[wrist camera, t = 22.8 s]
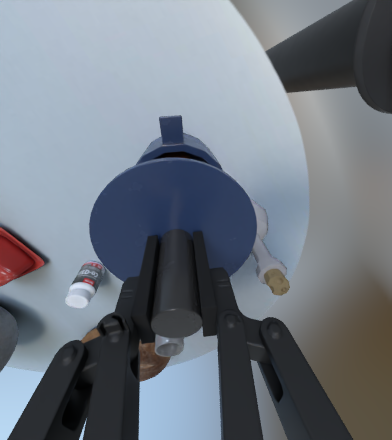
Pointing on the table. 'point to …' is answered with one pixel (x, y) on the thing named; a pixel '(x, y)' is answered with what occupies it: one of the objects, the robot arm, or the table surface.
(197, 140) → the pot
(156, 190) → the lid
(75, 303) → the pill bottle
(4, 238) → the butter dish
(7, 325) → the bowl
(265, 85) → the table surface
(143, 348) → the bread
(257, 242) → the potion bottle
